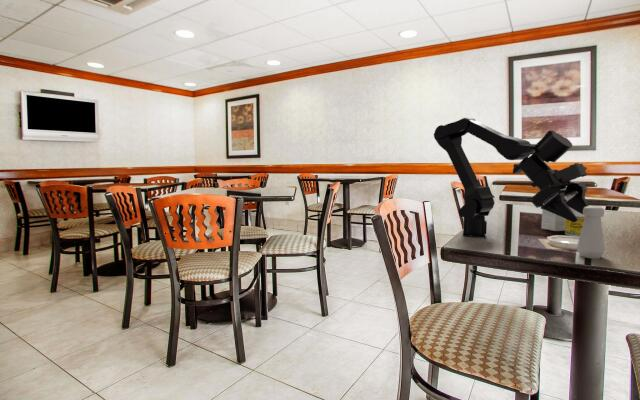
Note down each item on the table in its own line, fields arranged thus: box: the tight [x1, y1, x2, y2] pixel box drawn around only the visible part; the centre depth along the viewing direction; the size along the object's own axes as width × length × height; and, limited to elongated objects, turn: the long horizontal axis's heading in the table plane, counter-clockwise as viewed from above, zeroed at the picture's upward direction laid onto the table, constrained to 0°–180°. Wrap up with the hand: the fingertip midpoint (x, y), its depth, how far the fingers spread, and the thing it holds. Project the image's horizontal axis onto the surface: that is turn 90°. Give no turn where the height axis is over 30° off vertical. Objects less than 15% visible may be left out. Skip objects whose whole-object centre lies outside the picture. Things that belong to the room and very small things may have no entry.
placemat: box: [537, 238, 608, 253], centre depth 104 cm, size 14×12×1 cm
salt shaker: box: [576, 205, 606, 260], centre depth 92 cm, size 6×6×13 cm
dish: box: [546, 234, 580, 251], centre depth 104 cm, size 11×11×2 cm
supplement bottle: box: [564, 207, 585, 237], centre depth 116 cm, size 5×5×10 cm
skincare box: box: [540, 185, 568, 232], centre depth 124 cm, size 8×6×15 cm
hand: (584, 219), depth 93 cm, fingers open, 9 cm apart
